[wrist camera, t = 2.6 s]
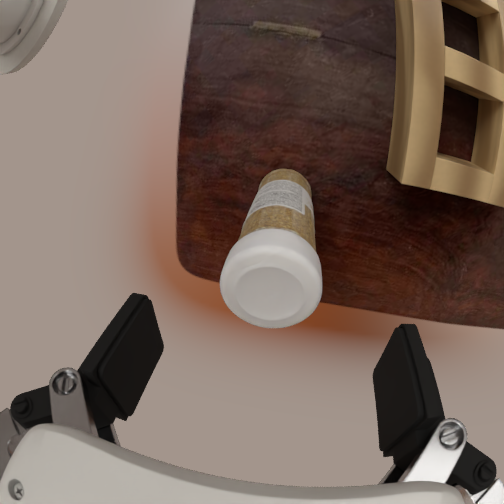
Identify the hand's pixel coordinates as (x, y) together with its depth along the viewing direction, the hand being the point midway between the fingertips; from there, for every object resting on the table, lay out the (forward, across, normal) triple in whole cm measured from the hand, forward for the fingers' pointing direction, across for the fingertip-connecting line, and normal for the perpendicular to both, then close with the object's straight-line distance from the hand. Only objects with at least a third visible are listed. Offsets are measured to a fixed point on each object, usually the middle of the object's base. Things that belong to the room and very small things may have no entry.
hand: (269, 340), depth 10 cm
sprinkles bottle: (+16, 0, 0) cm, 16 cm away
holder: (+16, -14, -13) cm, 25 cm away
